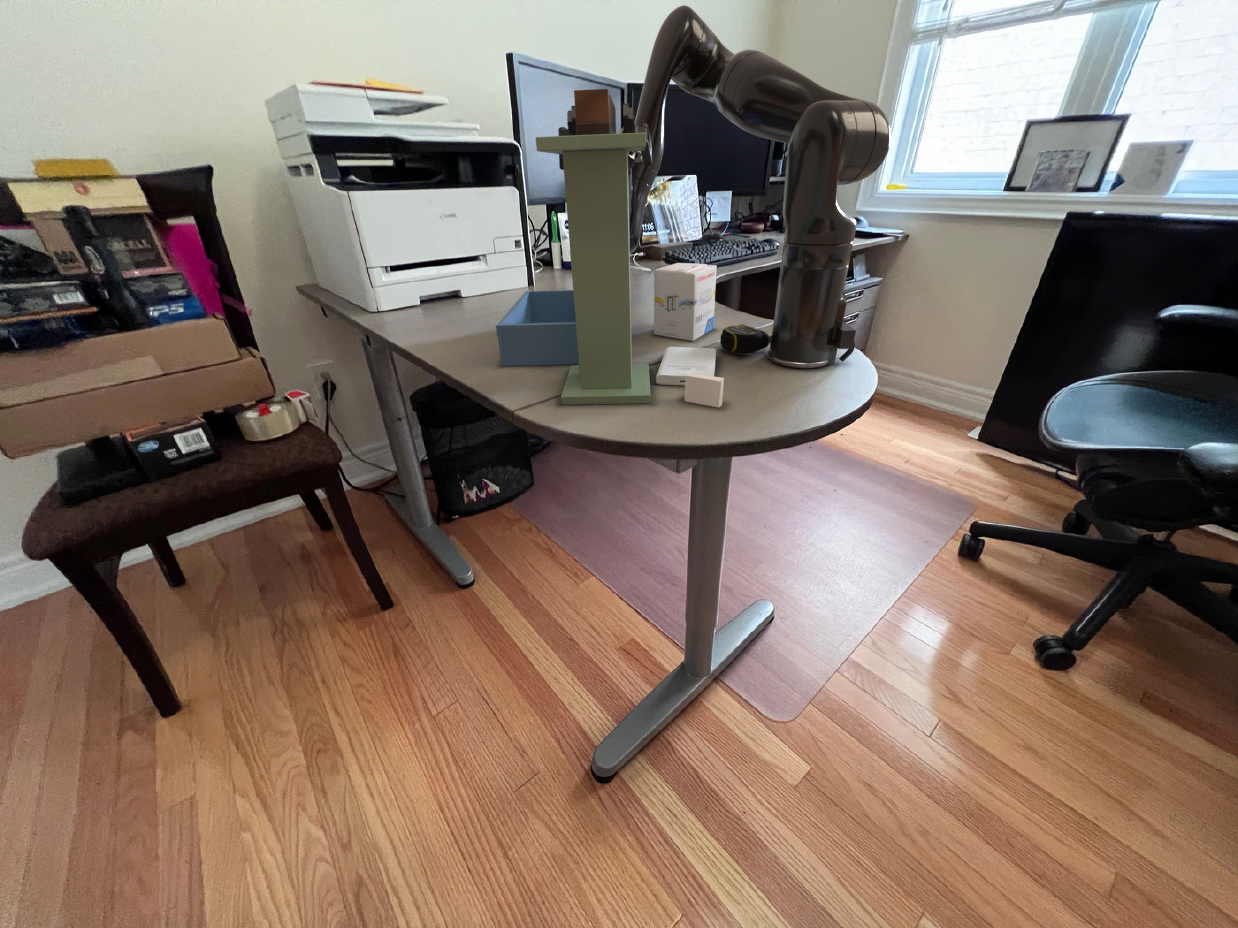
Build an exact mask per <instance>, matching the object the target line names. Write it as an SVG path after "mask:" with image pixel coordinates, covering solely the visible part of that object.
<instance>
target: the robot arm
mask: <svg viewBox="0 0 1238 928" xmlns="http://www.w3.org/2000/svg"><path fill="white" fill-rule="evenodd" d="M671 81H673V83H674V84H675V85H676V86H678V87H679V88H680V89H681V90H682V91H683V92H686V93H687V94H690V95H692V96H695V97H697V98H698V97H699V98H700V99H702V100H704V101H705V100H706V101H708V102H710V103H712V104H713V106H715V108H716V109H717V111H718V112H719V113H720V114H721V115H722V116H724V117H725V118H726V119H727V120H728V121H729V122H731V123H733V124H734V125H736V126H737V127H738V128H739V129H741V130H742V131H744V132H746V133H749V134H750V135H753V136H756V137H759V138H763V139H767V140H770V141H774V142H779V143H782V144H783V143H784V144H787V145H788V148H787V154H786V165H785V177H784V180H785V181H784V190H783V201H782V202H783V204H782V219H783V224H784V225H783V226H784V238H783V246H782V253H781V260H780V261H781V262H780V263H781V264H780V269H779V277H778V284H777V293H776V298H775V299H776V300H775V308H774V316H773V321H772V323H773V324H772V331H771V335H769V350H768V359H769V360H770V361H771V362H773V363H775V364H778V365H780V366H784V367H787V368H796V369H814V368H815V369H816V368H821V367H824V366H828V365H835V363H836V358H837V353H838V350H846V351H845V352H844V353H843V354H842V355H841V356H840V357H838V360H839V361H841V362H844V361H845V360H847V359H848V358H849V357H850V356H851V355H852V354H853V352H854V351H855V348H856V341H855V337H856V334H857V330H856V329H855V328H854V327H852V326H851V325H849V324H848V323H847V322H844V319H845V315H846V309H847V306H848V305H847V304H848V300H847V299H845V298H844V297H843V296H844V292H845V287H846V282H847V276H848V271H849V266H850V262H851V261H850V260H851V256H852V251H853V246H854V241H855V237H856V231H857V221H856V219H855V218H854V217H853V216H852V215H849V214H847V213H845V212H844V211H843V210H842V209H841V208H840V206H839V204H838V202H837V201H838V199H837V197H838V186H845V185H850V184H851V185H852V184H855V183H857V182H860V181H862V180H865V179H866V178H868V177H870V176H871V175H872V174H874V173H875V172H876V171H877V170H878V169H879V168H880V167H881V166H882V164H883V163H884V162H885V160H886V158H887V155H888V153H889V151H890V147H891V141H892V139H891V138H892V136H891V135H892V133H891V128H890V122H889V119H888V117H887V116H886V114H885V112H884V111H883V109H882V108H881V107H879V106H878V105H877V104H876V103H874V102H872V101H868V100H864V99H860V98H856V97H852V96H849V95H846V94H843V93H839V92H836V91H833V90H830V89H828V88H826V87H824V86H822V85H820V84H818V82H816V81H813V79H811V78H809V77H807V76H806V75H804V74H802V73H801V72H799V71H798V70H796V69H794V68H792V67H790V66H788V65H787V64H785V63H783V62H782V61H780V60H779V59H776V58H775V57H772V56H771V55H769V54H766V53H765V52H762V51H760V50H756V49H744V50H741V51H739V52H737V53H734V52H732V51H731V50H729V48H728V47H726V46H725V44H723V43H722V41H721V40H720V39H719V37H718V36H717V35H716V34H715V33H714V32H713V30H712V29H711V28H710V27H709V25H708V24H707V23H706V22H705V21H704V20H703V19H702V17H700V15H699V14H697V12H696V11H695V10H694V9H693V8H692V7H690V6H688V5H685V4H684V5H680V6H678V7H676V8H674V9H673V10H672V11H671V12H670V13H669V14H668V15H667V17H665V19H664V21H663V22H662V24H661V26H660V28H659V30H658V32H657V35H656V38H655V40H654V42H653V46H652V50H651V54H650V58H649V62H648V65H647V68H646V74H645V78H644V81H643V86H642V89H641V90H642V91H641V94H640V98H639V102H638V107H637V112H636V116H635V109H634V108H633V107H629V102H626V103H625V102H623V103H622V116H623V117H622V121H623V123H622V125H623V127H622V128H619V129H618V131H616V134H621V133H646V147H645V149H644V151H628V187H629V237H630V255H632V253H634V252H635V251H636V250H637V248H638V246H639V244H640V241H641V237H642V227H643V220H644V213H645V210H646V204H647V201H648V197H649V195H650V192H651V189H652V187H653V185H654V183H655V181H656V178H657V175H658V173H659V170H660V167H661V166H662V165H661V164H662V161H663V157H664V148H665V113H666V112H665V111H666V109H665V108H666V100H667V96H668V95H667V94H668V90H669V87H670V83H671ZM570 108H571V110H567V112H566V124H567V127H566V126H565V127H564V126H560V127H558V130H557V131H558V132H557V133H558V134H557V136H573V135H577V130H576V115H575V105H571V107H570ZM558 164H559V169H560V170H562V171H564V167H563V154H558Z"/></svg>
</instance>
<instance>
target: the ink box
mask: <svg viewBox="0 0 1238 928" xmlns="http://www.w3.org/2000/svg"><path fill="white" fill-rule="evenodd" d="M653 275H654V276H653V277H654V278H653V280H654V281H653V282H654V284H653V285H654V286H653V291H654V292H653V293H654V294H653V306H654V307H653V309H654V310H653V335H654V336H661V337H666V338H673V339H677V340H684V341H690V342H694V341H695V340H697V339H699V338H701V337H702V336H704V335H705V334H708V333H709V332H711V331H712V330H714V323H715V322H714V321H715V302H716V285H717V265H716V264H715V265H714V264H713V265H710V264H706V263H688V262H676V263H672V264H670V265H666V266H662V267H659V268H656V269H654V270H653Z"/></svg>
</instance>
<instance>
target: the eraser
mask: <svg viewBox="0 0 1238 928" xmlns="http://www.w3.org/2000/svg"><path fill="white" fill-rule="evenodd" d="M724 386H725V377H719V376H715V375H714V376H708V375H701V374H695V373H688V374H687V375H686V376H685V386H684V400H683V401H684V402H687V403H691V404H692V403H693V404H698V405H703V406H709V407H713V408H719V409H720V407H721V406H722V405H723V397H724V388H725V387H724Z"/></svg>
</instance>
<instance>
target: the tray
mask: <svg viewBox="0 0 1238 928" xmlns="http://www.w3.org/2000/svg"><path fill="white" fill-rule="evenodd" d="M495 330H496V335H497V341H498V350H499V354H500V360H501V366H502V367H516V366H517V367H518V366H519V367H521V366H562V365H563V366H565V365H566V366H567V365H570V366H571V365H579V357H578V345H577V332H576V319H575V306H574V294H573V289H554V290H553V289H551V290H526V291H524V293H523V294H522V295H521V296H520V298H518V299H517V301H516V302H515V303H514V304H513V305H512V306H511V307H510V309H508V311H507V312H506V313H505V314H504V316H502V317H501V319H500V320H499V321H498V322H497V323H496V325H495Z"/></svg>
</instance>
